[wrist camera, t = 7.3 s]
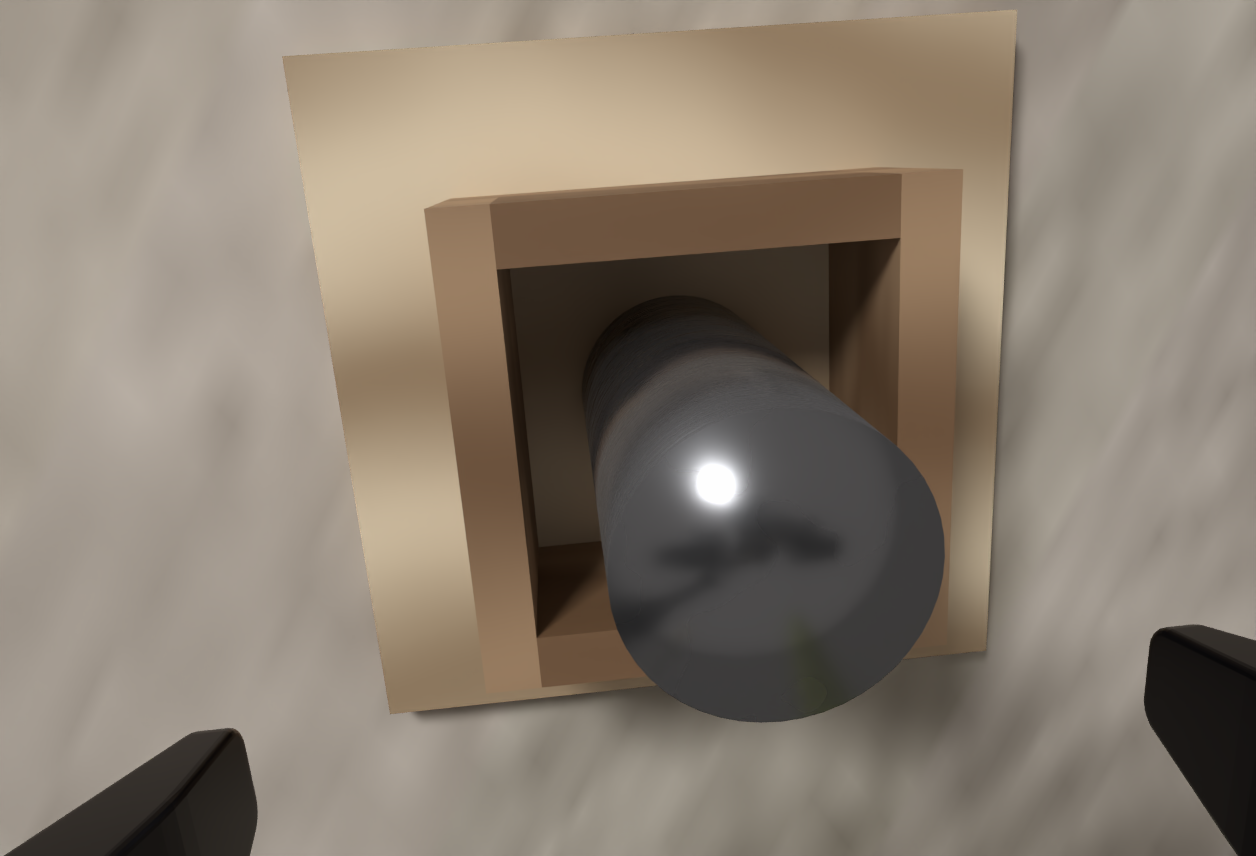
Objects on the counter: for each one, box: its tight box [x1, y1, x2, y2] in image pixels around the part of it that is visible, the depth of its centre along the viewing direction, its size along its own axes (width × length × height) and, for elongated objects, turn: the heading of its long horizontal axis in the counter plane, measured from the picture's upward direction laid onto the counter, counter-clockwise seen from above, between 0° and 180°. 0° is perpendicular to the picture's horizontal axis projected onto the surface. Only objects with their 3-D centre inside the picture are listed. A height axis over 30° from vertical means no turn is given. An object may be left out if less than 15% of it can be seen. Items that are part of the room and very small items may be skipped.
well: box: [282, 10, 1017, 714], centre depth 18 cm, size 14×14×5 cm
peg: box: [582, 295, 945, 722], centre depth 15 cm, size 4×4×9 cm
